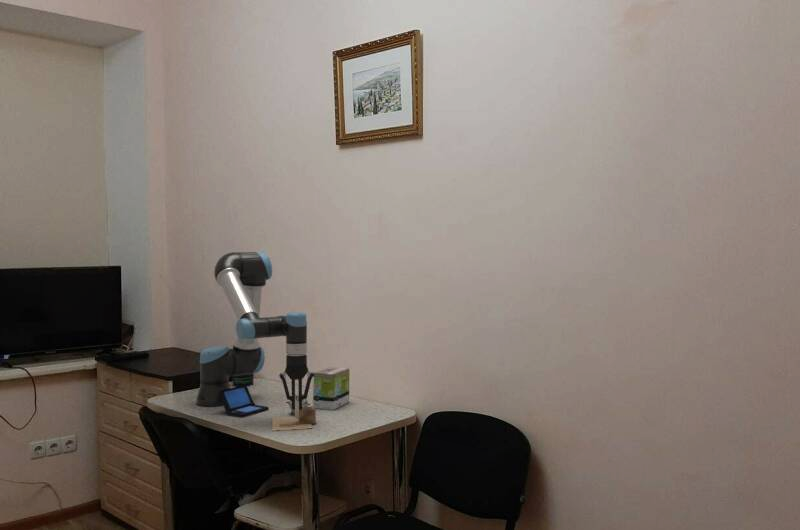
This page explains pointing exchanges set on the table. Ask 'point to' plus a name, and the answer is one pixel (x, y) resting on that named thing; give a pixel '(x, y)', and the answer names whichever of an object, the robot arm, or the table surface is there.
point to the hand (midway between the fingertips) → (296, 418)
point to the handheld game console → (239, 402)
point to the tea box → (331, 388)
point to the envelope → (288, 424)
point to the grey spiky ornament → (304, 402)
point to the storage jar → (243, 380)
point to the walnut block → (307, 415)
